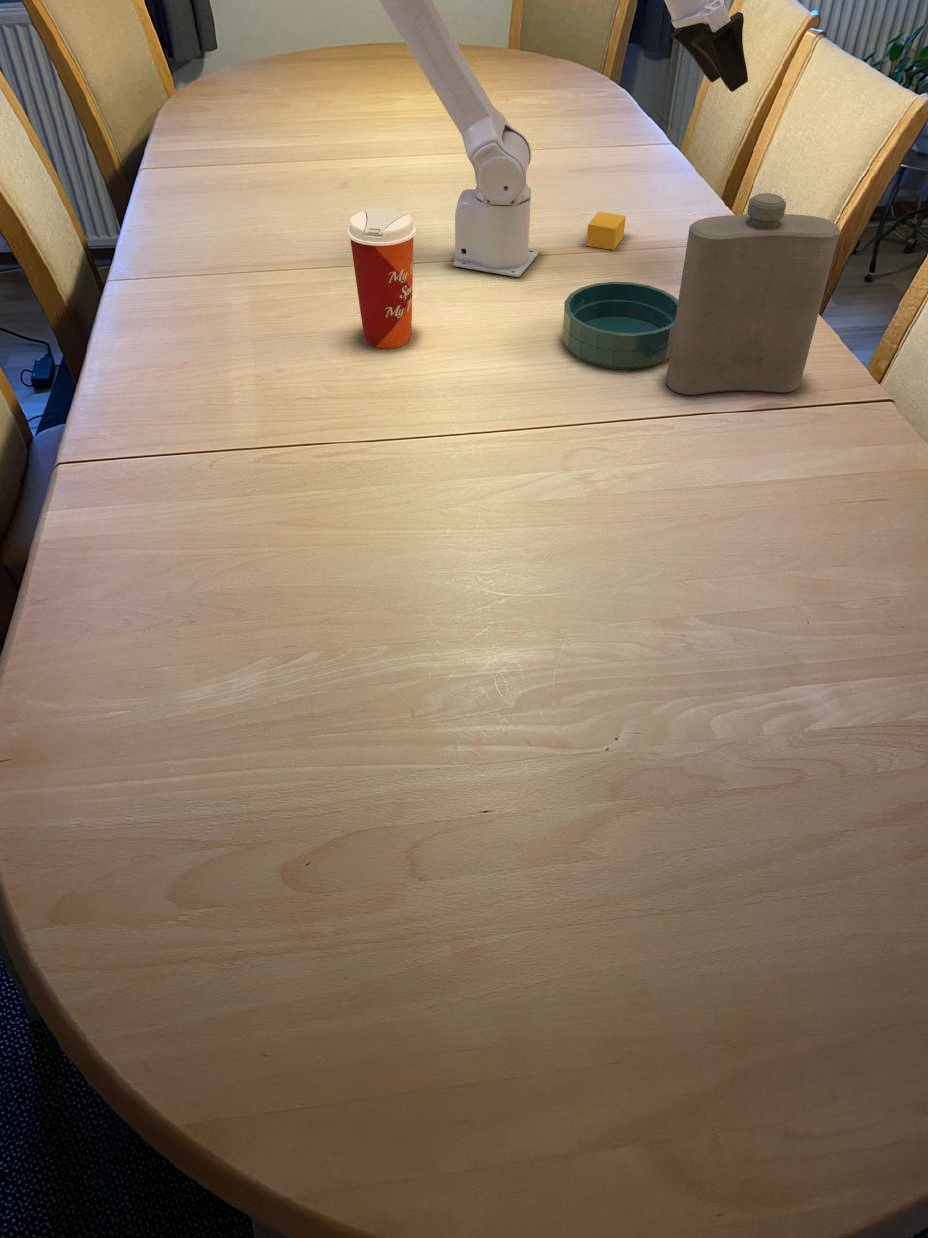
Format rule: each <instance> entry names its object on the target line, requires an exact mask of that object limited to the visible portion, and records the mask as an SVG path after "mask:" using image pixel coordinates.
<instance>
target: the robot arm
mask: <svg viewBox="0 0 928 1238" xmlns="http://www.w3.org/2000/svg"><path fill="white" fill-rule="evenodd" d="M379 2H380V4H381V6H382V8H383V9H384V11H385V12H386V14H387V16H388V17H389V20H391V22H392V24H393V26H394V27H395V29H396V30H397V32H398V34H399V35H400V37H401V39H402V40H403V42H404V43H405V45H406V47H407V48H408V50H409V52H410V53H411V55H412V56H413V58H414V60H415V61H416V63H417V65H418V66H419V68H420V69H421V70H420V71H422V73H423V75H424V76H425V78H426V80H427V81H428V83H429V84H430V86H431V88H432V89H433V91H434V92H435V94H436V96H437V98H438V99H439V100H440V102H441V104H442V106H443V107H444V109H445V110H446V112H447V114H448V116H449V117H450V119H451V121H452V122H453V124H454V125H455V127H456V128H457V130H458V132H459V133H460V135H461V139H462V141H463V146H464V150H465V153H466V157H467V159H468V160H469V162H470V164H471V166H472V168H473V171H474V178H475V184H476V186H475V188H466V189H463V190H462V192H461V193H460V195H459V197H458V199H457V202H456V207H455V215H454V250H455V251H454V253H455V254H454V258H455V259H454V261H453V262H452V264H453V266H454V267H456V268H457V267H458V268H463V269H468V270H475V271H478V272H479V271H480V272H485V273H491V274H496V275H502V276H509V277H515V278H519V277H521V276H522V275H523V273H524V272H525V271H526V270H527V268H529V266H530V265H531V264H532V263H533V262H534V261H535V259H536V258H537V257H538V256H539V252H538V250H533V249H529V245H530V227H531V226H530V225H531V224H530V222H531V219H530V218H531V203H532V202H531V200H532V189H531V187H529V185H528V184H527V172H528V168H529V165H530V163H531V158H532V149H531V146H530V143H529V140H528V139H527V138H526V137H525V135H523V133H521V132H520V131H518V130H517V129H515V127H512V126H511V124H510V123H509V122H508V120H507V118H506V116H505V114H503V113H502V112H501V111H500V110H498V109H497V108H496V107H495V106H494V104H493V103H492V101H491V99H490V97H489V96H488V95H487V93H486V91H485V89H484V88H483V85H482V84H481V82H480V81H479V79H478V77H477V76H476V73H475V72H474V70H473V68H472V67H471V65H470V63H469V62H468V60H467V58H466V56H465V55H464V53H463V51H462V50H461V48H460V46H459V45H458V43H457V41H456V40H455V38H454V36H453V34H452V33H451V31H450V29H449V28H448V25H447V24H446V23H445V20H444V19H443V17H442V15H441V13H440V11H439V10H438V8H437V6H436V5H435V4H434V2H433V0H379ZM664 3H665V5H666V8H667V10H668V12H669V14H670V16H671V24H672V26H673V27H674V29H675V30H674V31H672V33H671V34H670V37H671V38H672V39H673V40H674V41H676V42H677V43H678V44H679V45H681V47H683V48H684V49H685V50H686V51H687V52H688V54H689V55H690V56H691V57H692V59H693V60H694V62H695V63H696V64H697V66H698V67H699V69H700V70H701V72H702V74H703V75H704V76H705V77H706V78H707V80H708V81H709V82H710V83H714V82H716V81H717V80H719V79H721V81H722V82H723V84H724V86H725V87H726V88H727V89H728V90H729V91H730V92H731V93H733V92H735V91H736V90H738V89H739V88H741V87H742V86H743V85H745V84H747V83H748V82H749V75H748V68H747V63H746V58H745V52H744V44H743V43H744V41H743V40H744V38H743V34H744V33H743V31H744V23H745V18H744V17H745V16H744V14H743V12H740V11H737V12H735V13H734V14H732V15H731V16H730V15H729V12H728V10H727V7H726V5H725V0H664Z"/></svg>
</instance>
